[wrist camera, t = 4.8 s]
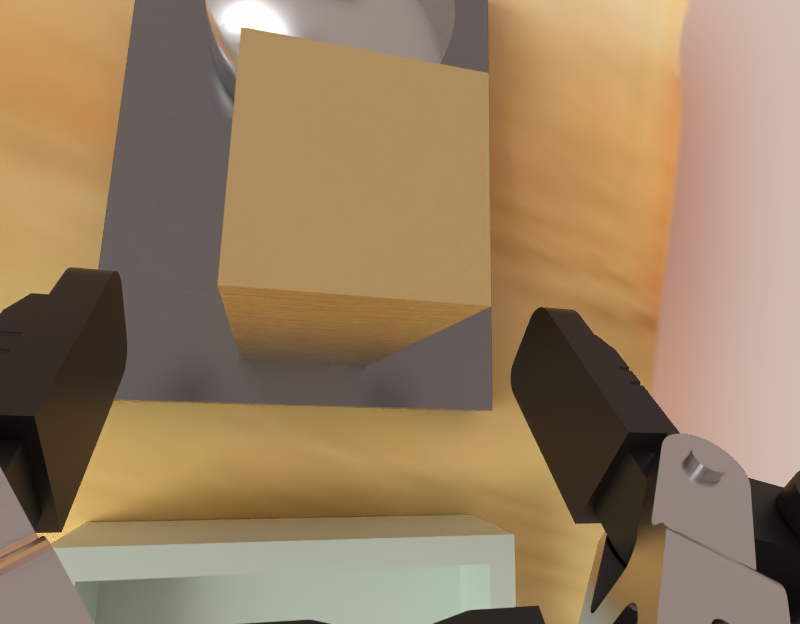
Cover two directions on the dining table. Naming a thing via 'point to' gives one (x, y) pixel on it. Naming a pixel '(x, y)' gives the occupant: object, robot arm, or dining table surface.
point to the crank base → (205, 201)
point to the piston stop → (352, 201)
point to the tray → (290, 569)
